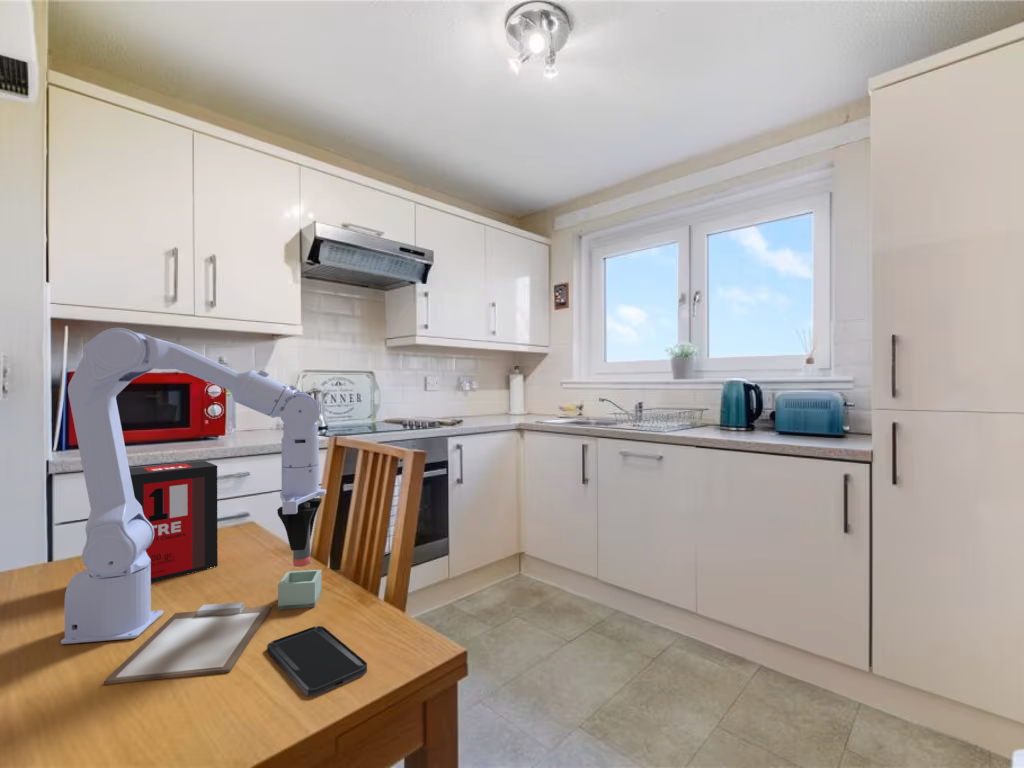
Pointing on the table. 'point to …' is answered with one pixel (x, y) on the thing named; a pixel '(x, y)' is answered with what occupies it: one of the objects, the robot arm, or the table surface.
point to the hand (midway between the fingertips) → (300, 546)
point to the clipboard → (193, 644)
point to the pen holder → (299, 589)
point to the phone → (316, 660)
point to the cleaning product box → (179, 516)
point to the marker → (302, 555)
